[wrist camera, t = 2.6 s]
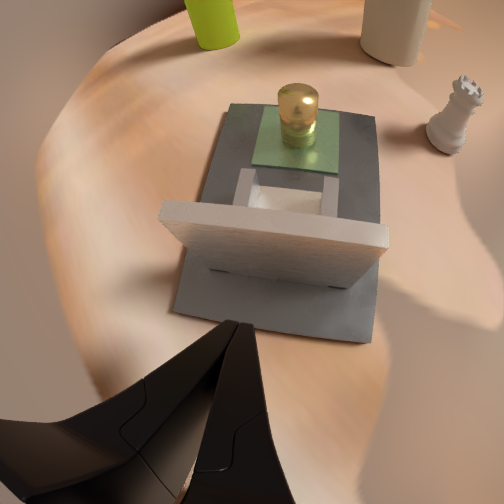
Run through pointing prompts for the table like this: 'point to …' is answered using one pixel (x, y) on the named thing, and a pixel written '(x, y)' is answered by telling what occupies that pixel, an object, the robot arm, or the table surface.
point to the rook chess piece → (454, 117)
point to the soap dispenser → (213, 23)
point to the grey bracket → (277, 237)
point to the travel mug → (394, 29)
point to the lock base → (293, 200)
